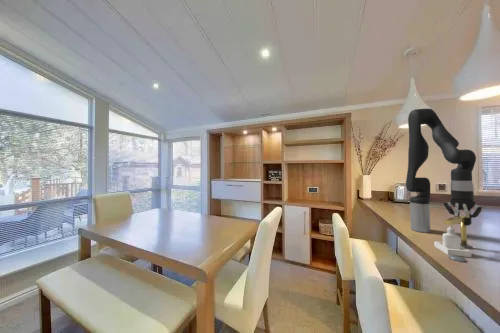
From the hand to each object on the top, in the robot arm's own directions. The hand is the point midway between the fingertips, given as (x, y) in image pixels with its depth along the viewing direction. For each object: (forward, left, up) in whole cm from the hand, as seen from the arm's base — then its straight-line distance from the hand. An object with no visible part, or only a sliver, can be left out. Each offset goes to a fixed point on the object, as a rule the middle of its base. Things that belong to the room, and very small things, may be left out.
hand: (463, 224), depth 92 cm
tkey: (+4, -4, -10) cm, 12 cm away
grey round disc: (+17, -12, -11) cm, 24 cm away
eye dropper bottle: (+8, -9, -11) cm, 16 cm away
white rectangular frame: (+8, -9, -11) cm, 16 cm away
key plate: (0, 0, -11) cm, 11 cm away
